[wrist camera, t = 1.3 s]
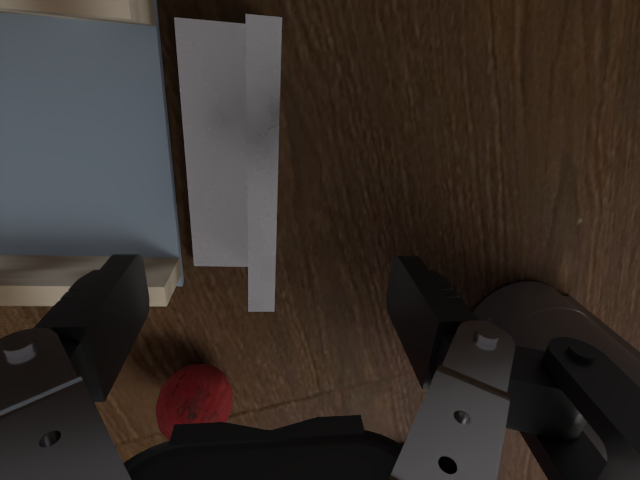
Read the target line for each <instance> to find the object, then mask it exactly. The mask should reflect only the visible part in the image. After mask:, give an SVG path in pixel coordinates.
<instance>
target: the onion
mask: <svg viewBox="0 0 640 480" xmlns="http://www.w3.org/2000/svg"><path fill="white" fill-rule="evenodd" d="M231 409H232V387H231V385H230V383H229V381H228V380H227V378H226V376H225V374H224V373H223V372H222V371H220V370H219V369H218V368H216V367H215V366H212V365H208V364H205V363H201V364H191V365H188V366H186V367H184V368H182V369H180V370H178V371H177V372H175V373H174V374H173V375H172V376H171V377H170V378H169V379H168V380H167V381H166V382H165V383H164V385H163V386H162V388H161V391H160V394H159V397H158V400H157V404H156V417H157V423H158V426H159V429H160V431H161V432H162V434H163V435H164V436H165V437H166V438H167V439H168V440H169V441H170V438H171V434H172V431H173V427H174V424H191V423H211V422H225V423H226V421H227V419H228V417H229V415H230V412H231Z"/></svg>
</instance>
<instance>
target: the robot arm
mask: <svg viewBox="0 0 640 480" xmlns="http://www.w3.org/2000/svg"><path fill="white" fill-rule="evenodd" d="M387 310H388V314H389V316H390V318H391V321H392V323H393V325H394V327H395V330H396V332H397V334H398V336H399V338H400V341H401V343H402V345H403V347H404V350H405V352H406V354H407V356H408V358H409V361H410V363H411V365H412V367H413V370H414V372H415V374H416V376H417V378H418V381H419V383H420V385H421V387H422V389H428V391H427V393H426V395H425V397H424V400H423V402H422V404H421V407H420V409H419V411H418V413H417V416H416V418H415V420H414V423H413V425H412V427H411V429H410V432H409V434H408V436H407V439H406V441H405V443H404V445H401V444H399V443H398V442H396V441H394V440H392V439H390V438H388V437H385V436H383V435H381V434H377V433H374V432H371V431H366V430H364V427H363V423H362V419H361V415H352V416H332V417H316V418H312V419H309V420H306V421H302V422H299V423H295V424H292V425H288V426H285V427H281V428H278V429H274V430H264V429H258V428H253V427H247V426H242V425H236V424H231V423H225V422H211V423H191V424H174V427H173V431H172V434H171V438H170V441H167V442H164V443H161V444H159V445H156V446H153V447H151V448H149V449H147V450H145V451H143V452H141V453H139V454H137V455H135V456H134V457H132V458H131V459H129V460H127V461H126V462H124V463H123V461H122V459H121V457H120V455H119V453H118V451H117V449H116V447H115V445H114V443H113V441H112V439H111V437H110V434H109V432H108V430H107V428H106V426H105V424H104V422H103V420H102V418H101V416H100V414H99V412H98V410H97V407H96V405H95V403H94V402H104V401H105V400H106V398H107V396H108V394H109V392H110V390H111V388H112V386H113V384H114V382H115V380H116V378H117V376H118V374H119V372H120V370H121V368H122V366H123V364H124V362H125V360H126V358H127V356H128V354H129V352H130V350H131V348H132V346H133V344H134V342H135V340H136V338H137V336H138V334H139V332H140V330H141V328H142V326H143V324H144V322H145V320H146V318H147V315H148V311H149V292H148V286H147V280H146V273H145V267H144V261H143V258H142V256H141V255H140V254H113V255H112V256H111V257H110V258H109V259H108V260H107V261H106V263H105V264H104V265H103V266H102V267H101V269H100V270H93V271H91V272H89V273H87V274H86V275H84V276H82V277H81V278H79V279H77V281H76V282H75V283H74V284H73V285H72V286H71V287H70V288H69V289H68V292H66V293H65V294H64V295H63V296H62V297H61V298H60V301H58V302H57V303H56V304H55V305H54V306H53V307H52V308H51V309H50V311H49V312H48V313H47V314H46V315H45V316H44V317H43V318H42V319H41V321H40V322H39V323H38V324H37V325H36V326H35V327H34V328H32V329H26V330H22V331H18V332H15V333H12V334H9V335H7V336H5V337H3V338H1V339H0V480H497V477H498V471H499V465H500V459H501V452H502V446H503V440H504V434H505V428H509V429H513V430H517V431H520V433H521V435H522V436H523V438H524V440H525V441H526V443H527V445H528V447H529V448H530V450H531V452H532V453H533V455H534V457H535V458H536V460H537V462H538V463H539V465H540V467H541V468H542V470H543V472H544V473H545V475H546V477H547V478H548V480H640V352H639V351H638V350H636V349H635V348H634V347H633V346H632V345H630V344H629V343H628V342H627V341H625V340H624V339H623V338H622V337H620V336H619V335H618V334H617V333H616V332H614V331H613V330H612V329H611V328H609V327H608V326H607V325H606V324H604V323H603V322H602V321H601V320H600V319H598V318H597V317H596V316H595V315H593V314H592V313H591V312H590V311H588V310H587V309H586V308H585V307H584V306H582V305H581V304H580V303H579V302H577V301H576V300H575V299H574V298H572V297H571V296H563V295H561V294H560V293H559V292H557V291H556V290H555V289H554V288H553V287H551V286H549V285H547V284H545V283H540V282H536V281H524V282H518V283H513V284H510V285H507V286H505V287H502V288H500V289H499V290H497V291H495V292H493V293H492V294H490V295H489V296H488V297H486V298H485V299H484V300H483V301H482V302H481V303H480V304H479V305H478V306H477V307H476V309H475V310H474V312H473V313H472V311H471V310H470V309H469V308H468V306H467V305H466V304H465V302H464V301H463V300H462V299H461V298H459V295H458V293H457V292H456V291H455V290H453V287H452V286H451V285H450V283H449V282H448V281H447V279H446V278H444V277H443V276H441V275H440V274H438V273H437V272H435V271H434V270H428V269H427V267H426V266H425V265H424V263H423V262H422V260H421V259H420V258H419V257H418V256H395V257H394V259H393V262H392V268H391V274H390V280H389V286H388V292H387Z"/></svg>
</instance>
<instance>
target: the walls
mask: <svg viewBox="0 0 640 480" xmlns="http://www.w3.org/2000/svg"><path fill="white" fill-rule="evenodd" d="M0 13H11V14H23V15H34V16H46V17H57V18H69V19H80V20H91V21H103V22H114V23H126V24H137V25H149V26H156V20H155V10H154V0H0ZM109 258H110V257H107V256H50V255H0V306H54V305H55V304H56V303H57V302H58V301H60V298H61V297H62V296H63V295H64V294H65V293H66V292H68V289H69V288H70V287H71V286H72V285H73V284H74V283H75V282H76V281H77V279H79V278H81V277H82V276H84V275H86V274H87V273H89V272H91V271H93V270H100V269H101V267H102V266H103V265H104V264H105V263H106V261H107V260H108V259H109ZM142 258H143V261H144V267H145V273H146V280H147V286H148V292H149V306H167V305H168V303H169V300H170V298H171V296H172V294H173V292H174V290H175V287H176V285H177V283H178V281H179V279H180V276H181V269H180V259H179V258H164V257H142Z"/></svg>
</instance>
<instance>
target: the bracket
mask: <svg viewBox="0 0 640 480" xmlns="http://www.w3.org/2000/svg"><path fill="white" fill-rule="evenodd" d="M174 23H175V36H176V48H177V61H178V73H179V85H180V98H181V110H182V123H183V135H184V147H185V160H186V172H187V185H188V197H189V209H190V222H191V234H192V247H193V259H194V266H228V267H248V312H274V305H275V267H276V229H277V191H278V153H279V114H280V76H281V38H282V17H274V16H263V15H253V14H246V24H242V23H231V22H220V21H210V20H199V19H188V18H177V17H174Z"/></svg>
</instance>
